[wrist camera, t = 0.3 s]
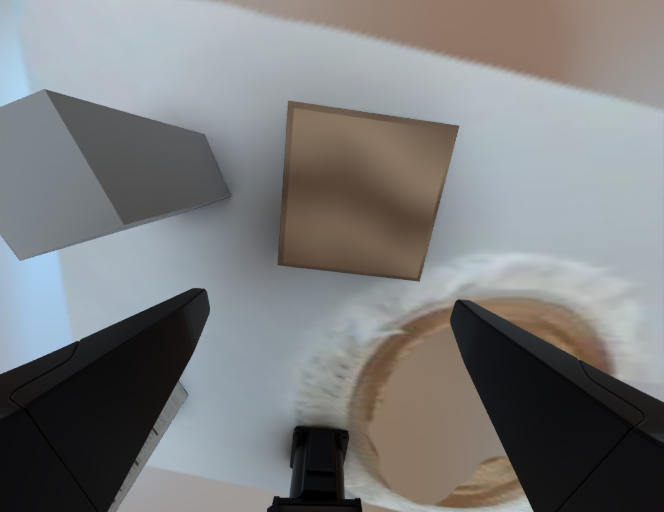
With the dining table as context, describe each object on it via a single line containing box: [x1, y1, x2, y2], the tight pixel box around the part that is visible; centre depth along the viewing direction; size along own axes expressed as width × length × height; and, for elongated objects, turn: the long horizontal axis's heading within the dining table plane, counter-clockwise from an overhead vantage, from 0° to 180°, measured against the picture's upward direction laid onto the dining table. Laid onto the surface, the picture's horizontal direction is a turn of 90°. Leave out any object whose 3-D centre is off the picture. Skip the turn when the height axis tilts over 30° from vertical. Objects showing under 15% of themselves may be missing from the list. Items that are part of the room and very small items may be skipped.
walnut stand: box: [278, 101, 459, 281], centre depth 20 cm, size 12×12×3 cm
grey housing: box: [0, 89, 231, 261], centre depth 16 cm, size 5×5×12 cm
